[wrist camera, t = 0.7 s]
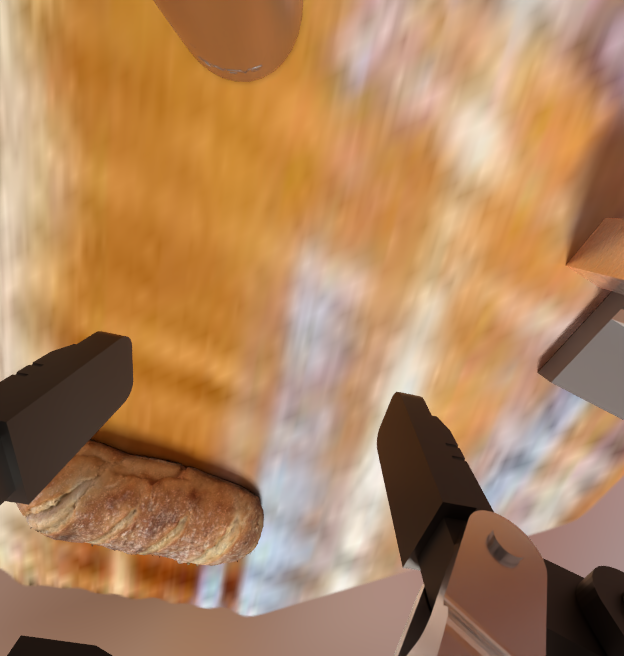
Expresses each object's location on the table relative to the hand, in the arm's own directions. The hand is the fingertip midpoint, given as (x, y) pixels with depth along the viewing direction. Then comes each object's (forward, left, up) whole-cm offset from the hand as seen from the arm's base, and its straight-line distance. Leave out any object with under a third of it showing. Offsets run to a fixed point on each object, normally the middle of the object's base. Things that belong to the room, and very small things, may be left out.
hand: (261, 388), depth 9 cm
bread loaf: (+30, -14, -21) cm, 40 cm away
